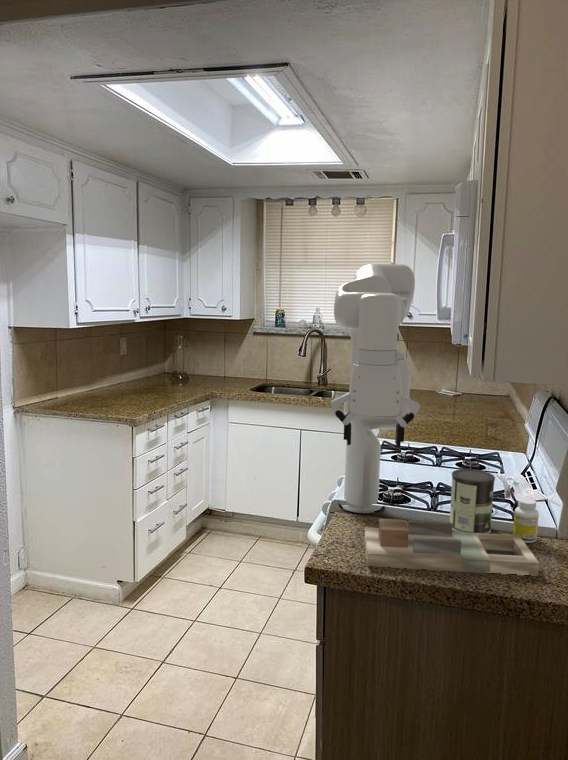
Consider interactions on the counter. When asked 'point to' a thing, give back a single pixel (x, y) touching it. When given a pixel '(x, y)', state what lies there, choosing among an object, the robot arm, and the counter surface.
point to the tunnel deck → (452, 551)
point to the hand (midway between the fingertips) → (373, 444)
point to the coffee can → (471, 501)
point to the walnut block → (393, 533)
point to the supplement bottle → (526, 520)
